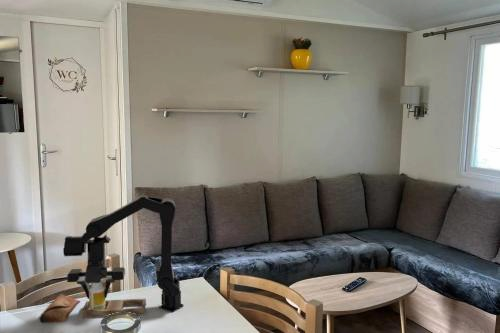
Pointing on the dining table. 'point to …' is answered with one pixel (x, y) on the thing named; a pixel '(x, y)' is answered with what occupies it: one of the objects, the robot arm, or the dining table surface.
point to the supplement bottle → (97, 296)
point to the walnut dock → (114, 308)
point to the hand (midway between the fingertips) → (97, 298)
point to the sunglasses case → (59, 309)
